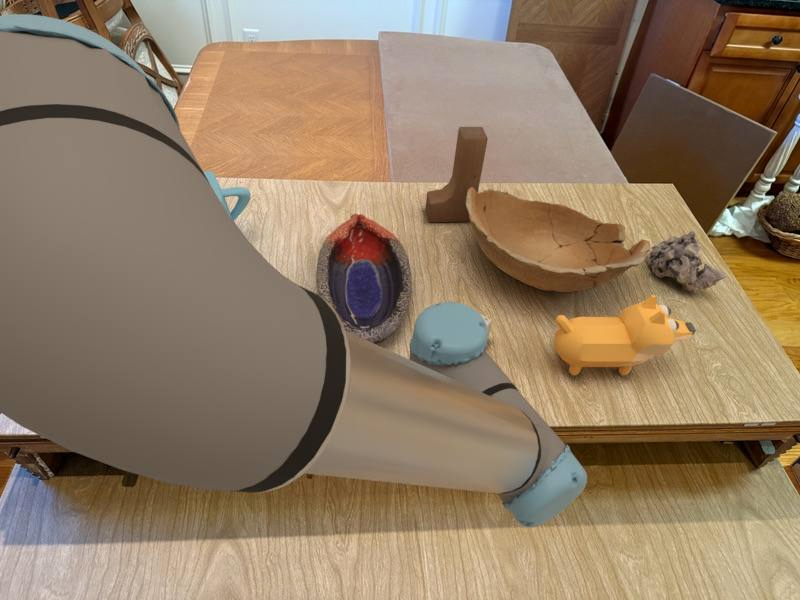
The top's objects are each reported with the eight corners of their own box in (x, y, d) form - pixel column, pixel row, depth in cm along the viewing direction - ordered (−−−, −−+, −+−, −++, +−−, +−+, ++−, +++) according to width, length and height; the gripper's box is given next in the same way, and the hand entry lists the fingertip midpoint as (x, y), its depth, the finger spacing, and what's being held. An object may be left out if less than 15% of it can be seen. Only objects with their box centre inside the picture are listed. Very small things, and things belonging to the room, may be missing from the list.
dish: (311, 358, 79) (309, 335, 76) (322, 231, 101) (321, 209, 98) (416, 357, 81) (418, 335, 77) (404, 232, 102) (406, 210, 99)
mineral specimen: (729, 290, 90) (720, 233, 87) (671, 304, 91) (662, 248, 89) (696, 273, 101) (688, 222, 99) (646, 286, 103) (636, 236, 100)
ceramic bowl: (606, 215, 107) (635, 155, 95) (635, 331, 91) (674, 276, 79) (455, 209, 107) (464, 148, 95) (458, 323, 92) (469, 268, 79)
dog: (680, 385, 80) (721, 325, 71) (548, 385, 78) (573, 324, 69) (659, 344, 85) (695, 284, 76) (536, 344, 84) (558, 283, 75)
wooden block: (427, 223, 105) (437, 138, 93) (424, 209, 108) (433, 125, 96) (473, 222, 106) (488, 138, 94) (468, 209, 109) (483, 125, 97)
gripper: (318, 482, 61) (157, 417, 66) (394, 339, 77) (260, 295, 82) (314, 447, 56) (140, 379, 60) (397, 302, 72) (253, 257, 76)
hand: (209, 331), depth 71 cm, fingers open, 11 cm apart
